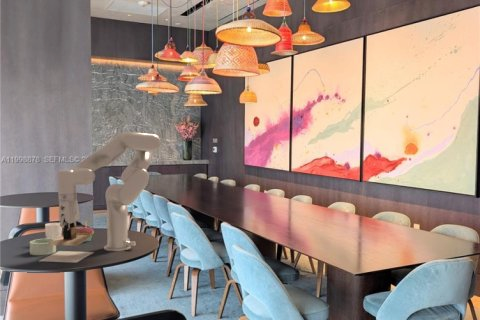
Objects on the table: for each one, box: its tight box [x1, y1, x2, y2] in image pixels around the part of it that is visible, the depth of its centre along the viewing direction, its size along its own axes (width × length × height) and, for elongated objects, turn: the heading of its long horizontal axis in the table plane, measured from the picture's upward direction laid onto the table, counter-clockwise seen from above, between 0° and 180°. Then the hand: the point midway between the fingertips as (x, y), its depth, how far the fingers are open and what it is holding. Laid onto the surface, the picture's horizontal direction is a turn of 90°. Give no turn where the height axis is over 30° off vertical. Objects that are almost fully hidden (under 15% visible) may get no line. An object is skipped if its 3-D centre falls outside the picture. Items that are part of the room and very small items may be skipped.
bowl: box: [29, 237, 57, 256], centre depth 194 cm, size 11×11×6 cm
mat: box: [39, 250, 95, 264], centre depth 187 cm, size 17×17×1 cm
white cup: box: [44, 222, 63, 239], centre depth 212 cm, size 8×8×10 cm
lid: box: [48, 226, 92, 246], centre depth 187 cm, size 13×13×6 cm
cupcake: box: [76, 219, 95, 243], centre depth 219 cm, size 9×8×12 cm
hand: (69, 237), depth 187 cm, fingers closed on lid, 4 cm apart
